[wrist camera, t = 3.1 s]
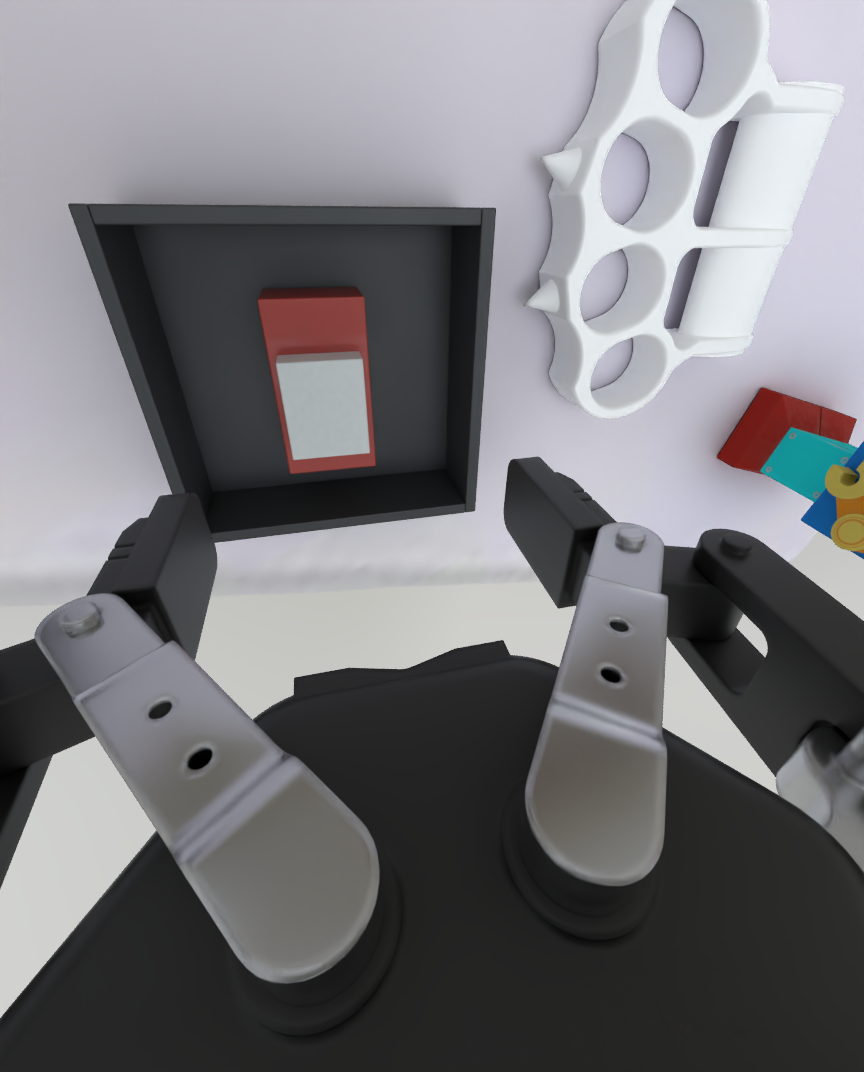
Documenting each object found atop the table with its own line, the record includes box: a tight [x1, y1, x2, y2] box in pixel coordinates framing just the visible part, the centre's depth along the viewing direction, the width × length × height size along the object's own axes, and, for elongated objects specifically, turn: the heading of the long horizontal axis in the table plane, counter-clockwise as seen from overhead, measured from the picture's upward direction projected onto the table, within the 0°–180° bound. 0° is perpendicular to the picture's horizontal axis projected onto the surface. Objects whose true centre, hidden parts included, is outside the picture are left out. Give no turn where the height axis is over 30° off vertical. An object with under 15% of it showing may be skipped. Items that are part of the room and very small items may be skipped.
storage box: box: [68, 204, 496, 543], centre depth 23 cm, size 15×14×5 cm
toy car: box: [257, 287, 376, 474], centre depth 23 cm, size 8×4×5 cm, turn 0°
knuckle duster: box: [524, 0, 845, 419], centre depth 24 cm, size 3×18×15 cm
